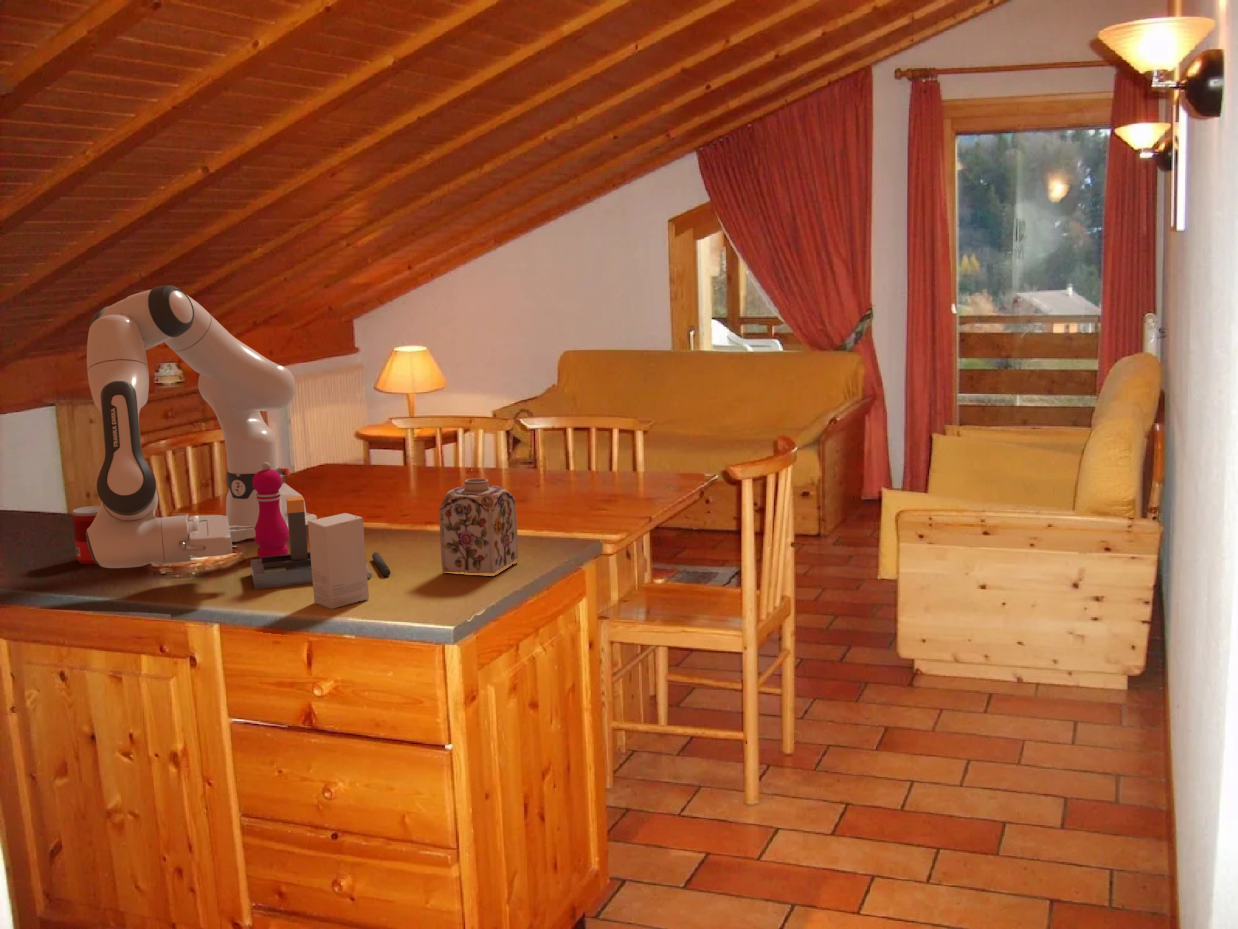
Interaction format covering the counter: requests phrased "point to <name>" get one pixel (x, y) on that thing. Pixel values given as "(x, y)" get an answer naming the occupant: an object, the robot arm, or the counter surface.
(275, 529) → the pepper mill
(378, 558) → the dark grey capsule
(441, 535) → the decorative jar
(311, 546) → the skincare box
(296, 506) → the lever
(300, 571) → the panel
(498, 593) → the counter surface
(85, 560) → the canned food
